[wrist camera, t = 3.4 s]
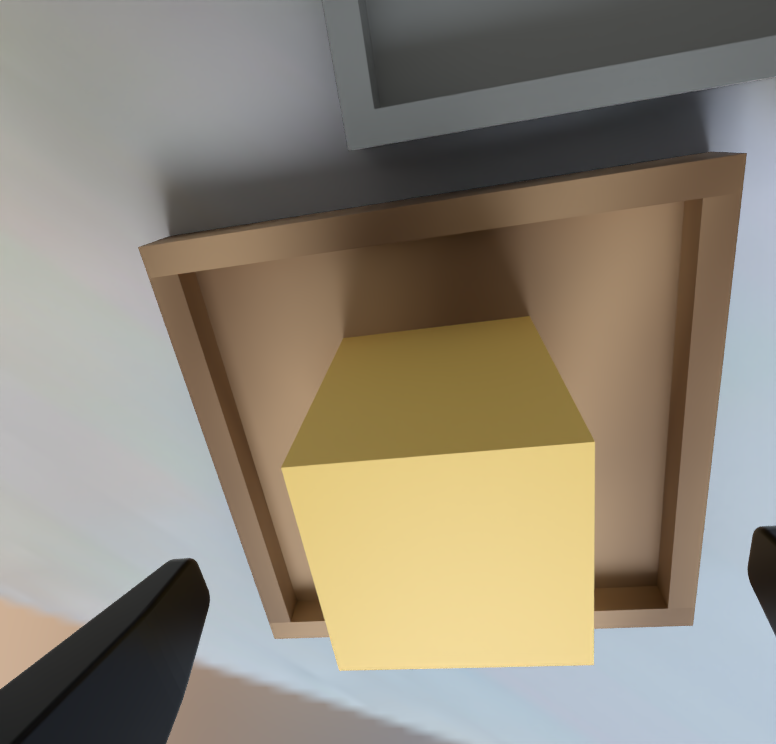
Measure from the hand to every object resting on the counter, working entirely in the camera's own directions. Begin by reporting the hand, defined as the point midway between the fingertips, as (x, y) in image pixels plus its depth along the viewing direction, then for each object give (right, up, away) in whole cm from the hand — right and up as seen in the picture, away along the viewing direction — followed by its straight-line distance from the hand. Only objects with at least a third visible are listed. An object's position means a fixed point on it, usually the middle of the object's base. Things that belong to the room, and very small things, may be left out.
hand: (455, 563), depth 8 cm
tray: (+1, +1, +6) cm, 6 cm away
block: (0, +2, +5) cm, 5 cm away
